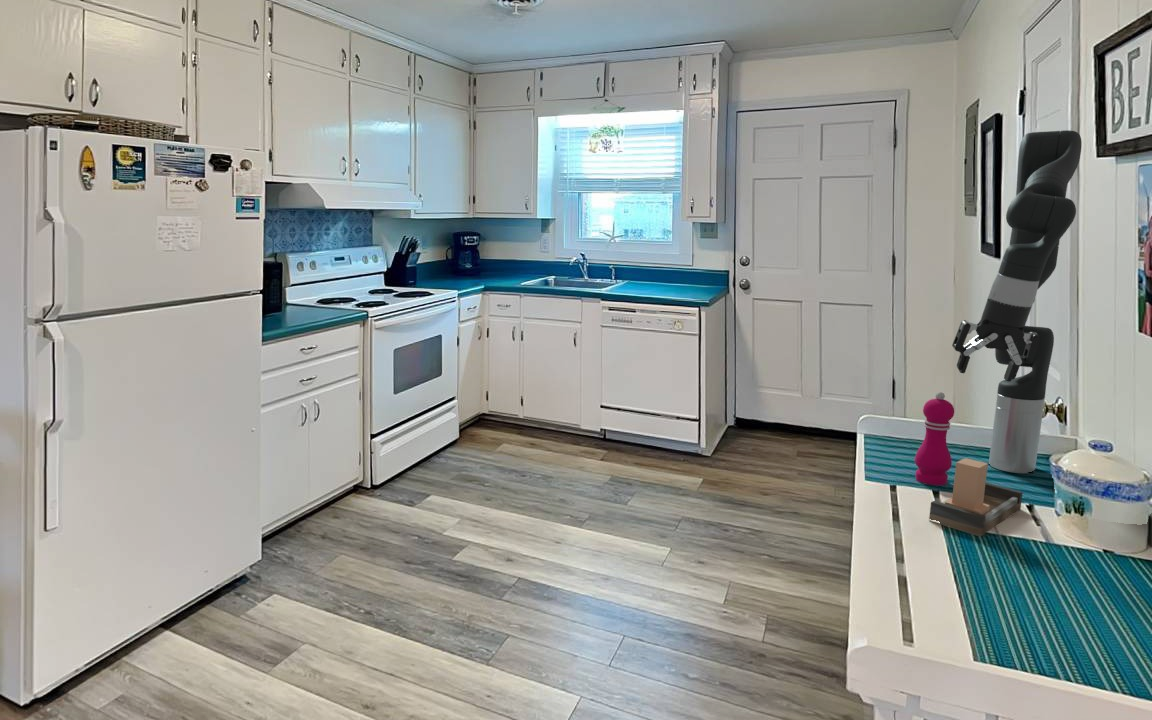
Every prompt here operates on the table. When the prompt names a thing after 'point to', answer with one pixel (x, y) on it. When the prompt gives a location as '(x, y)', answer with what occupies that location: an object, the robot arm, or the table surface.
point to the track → (1001, 508)
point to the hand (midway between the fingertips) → (983, 376)
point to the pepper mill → (935, 442)
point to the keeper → (970, 486)
